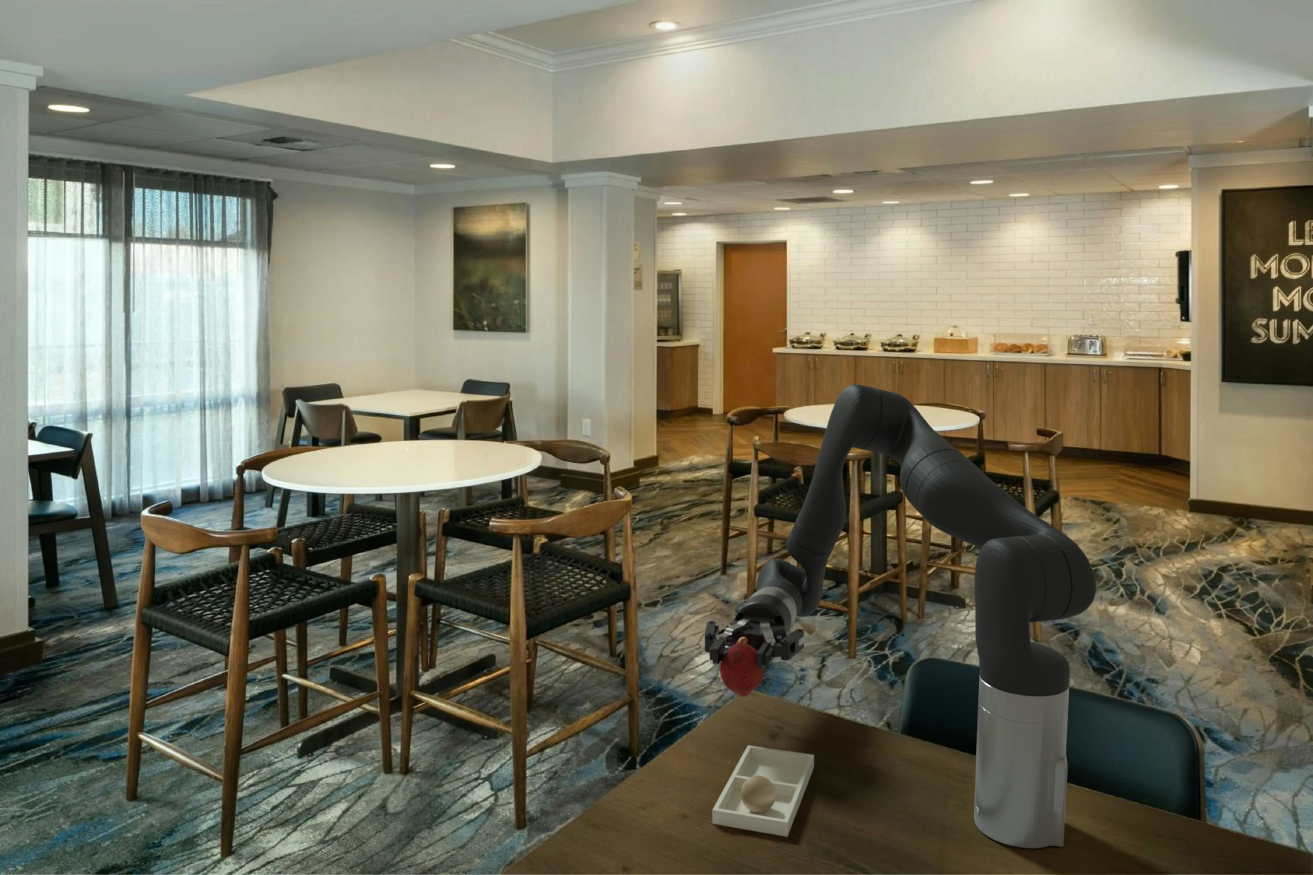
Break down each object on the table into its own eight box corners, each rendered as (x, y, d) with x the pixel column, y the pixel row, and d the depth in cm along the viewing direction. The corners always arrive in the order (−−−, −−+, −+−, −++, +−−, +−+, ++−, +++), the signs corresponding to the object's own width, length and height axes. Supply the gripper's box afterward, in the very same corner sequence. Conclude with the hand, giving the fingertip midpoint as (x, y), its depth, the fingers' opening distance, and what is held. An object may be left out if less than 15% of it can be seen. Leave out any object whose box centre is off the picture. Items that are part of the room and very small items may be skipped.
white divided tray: (813, 772, 120) (814, 754, 119) (787, 842, 104) (787, 822, 104) (747, 762, 122) (747, 745, 122) (712, 829, 107) (712, 809, 107)
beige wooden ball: (779, 804, 111) (779, 771, 110) (771, 822, 107) (771, 788, 106) (745, 798, 112) (745, 766, 111) (737, 816, 108) (736, 783, 108)
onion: (749, 709, 121) (748, 648, 120) (712, 699, 124) (710, 640, 123) (773, 693, 126) (772, 635, 125) (736, 684, 129) (734, 627, 128)
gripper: (718, 589, 139) (683, 625, 124) (816, 597, 135) (792, 635, 119) (718, 638, 140) (684, 681, 125) (816, 648, 136) (793, 693, 120)
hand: (737, 658), depth 122 cm, fingers closed on onion, 5 cm apart
